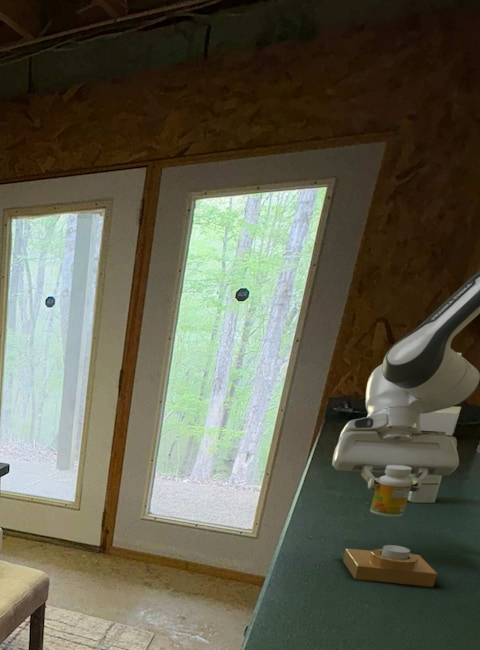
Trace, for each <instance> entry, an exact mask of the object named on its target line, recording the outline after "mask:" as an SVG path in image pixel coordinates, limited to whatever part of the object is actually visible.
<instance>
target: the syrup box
mask: <svg viewBox="0 0 480 650" xmlns="http://www.w3.org/2000/svg"><path fill="white" fill-rule="evenodd" d="M408 478H410V479H411V480H417V479H418V478H419V477H418V478H415V474H410V475H409V476H408ZM442 478H443V475H426V476H425V477H424V478H423V480H422V481H421V489H420V490H419V491H418V492H414V491H410V492H409V496H408V499H407V502H410V503H415V504H417V503H418V504H432V503H433V504H434V503H435V502H436V500H437V496H438V493H439V488H440V485H441V483H442V482H441V481H442Z"/></svg>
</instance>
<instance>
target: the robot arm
mask: <svg viewBox="0 0 480 650" xmlns="http://www.w3.org/2000/svg"><path fill="white" fill-rule="evenodd" d="M479 315H480V270H478V271H477V272H476V273H475V274H473V276H471V277H470V278H468V280H466V282H464V283H463V285H461V286H460V287H459V288H458V289H457V290H455V292H453V294H451V295H450V296H449V297H448V298H447V299H446V300H445V301H444V302H443V303H442V304H441V305H440V306H438V308H437V309H436V310H434V311H433V312H432V313H431V314H430V315H429V316H428V317H427V318H426V319H424V321H422V323H420V324H419V325H418V326H417V327H416V328H414V329H413V330H412V331H410V332H409V333H407V334H406V335H405V336H404V337H402V338H401V339H399V340H398V341H397V342H396V343H394V344H393V345H392V346H391V347H390V348H389V350H388V351H387V352H386V354H385V356H384V358H383V361H382V364H380V365H378V366H377V367H376V368H375V369H374V370H372V372H371V374H370V375H369V377H368V380H367V384H366V389H365V409H366V411H367V415H366V417H361V418H355V419H351V420H349V421H348V422H347V423H346V424H345V425H344V427H343V428H342V430H341V432H340V435H339V437H338V443H337V444H336V446H335V448H334V451H333V455H332V463H331V465H332V467H333V468H334V470H336V471H342V472H343V471H344V472H345V471H348V472H360V476H361V477H362V478H363V479H364V480H365V482H367V489H368V490H376V489H377V488H378V487H379V485H380V483H379V481H380V477H375V476H374V474H373V473H384V474H386V473H385V469H386V466H388V465H403V466H408V467H411V468H412V469H411V474H415V478H418V477H419V478H418V479H417V480H412V486H411V489H410V491H414V492H418V491H419V490H420V489H421V481H422V480H423V478H424V477H425V476H426V475H442V476H444V477H445V476H449V475H451V474H452V473H453V472H454V471H455V470H456V469H457V468H458V467H459V465H460V458H459V453H458V449H457V447H458V443H457V442H458V441H457V438H456V437H455V436H453V435H452V436H451V435H448V434H447V433H445V432H435V431H422V430H420V414H423V413H430V412H434V411H438V410H442V409H446V408H449V407H452V406H453V407H456V406H457V405H459V404H461V403H463V402H465V401H466V400H467V399H469V398H470V397H471V396H472V395H473V394H474V393H475V391H476V390H477V389H478V386H479V384H480V371H479V370H478V368H476V367H475V366H474V365H473V364H471V363H470V362H469V361H468V360H467V359H466V358H465V357H463V356H462V355H461V356H460V355H458V354H457V353H458V352H456V351H455V350H454V349H453V348H451V345H452V341H453V339H454V337H455V336H456V335H458V334H459V333H460V332H461V331H462V330H463V329H464V328H465V327H466V326H467V325H468V324H470V323H471V322H472V321H473V320H474V319H475V318H477V316H479Z"/></svg>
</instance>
